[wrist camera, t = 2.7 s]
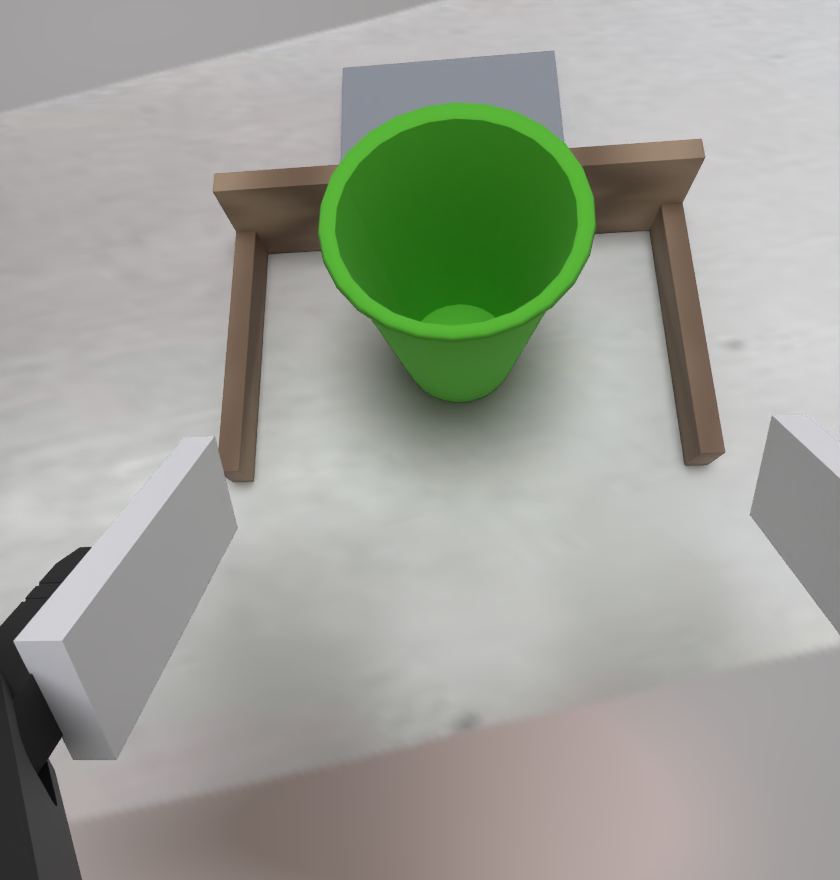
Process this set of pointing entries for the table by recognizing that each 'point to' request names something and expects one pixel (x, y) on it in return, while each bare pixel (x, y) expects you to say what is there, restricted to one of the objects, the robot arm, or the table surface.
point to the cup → (457, 238)
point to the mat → (450, 90)
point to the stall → (616, 210)
